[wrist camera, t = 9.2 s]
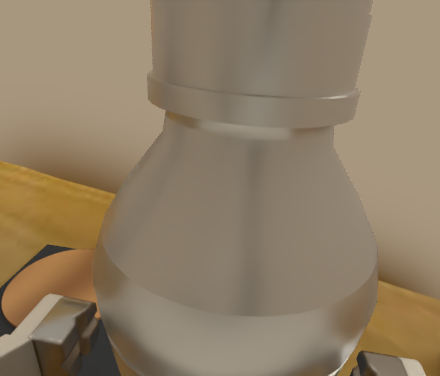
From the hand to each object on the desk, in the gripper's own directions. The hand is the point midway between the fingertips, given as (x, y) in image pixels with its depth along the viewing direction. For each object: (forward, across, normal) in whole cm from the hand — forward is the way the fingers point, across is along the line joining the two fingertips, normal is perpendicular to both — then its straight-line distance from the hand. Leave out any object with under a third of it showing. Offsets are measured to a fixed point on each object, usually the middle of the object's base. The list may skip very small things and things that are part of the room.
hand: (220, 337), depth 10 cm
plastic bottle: (0, 0, -11) cm, 11 cm away
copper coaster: (+10, -13, -11) cm, 20 cm away
